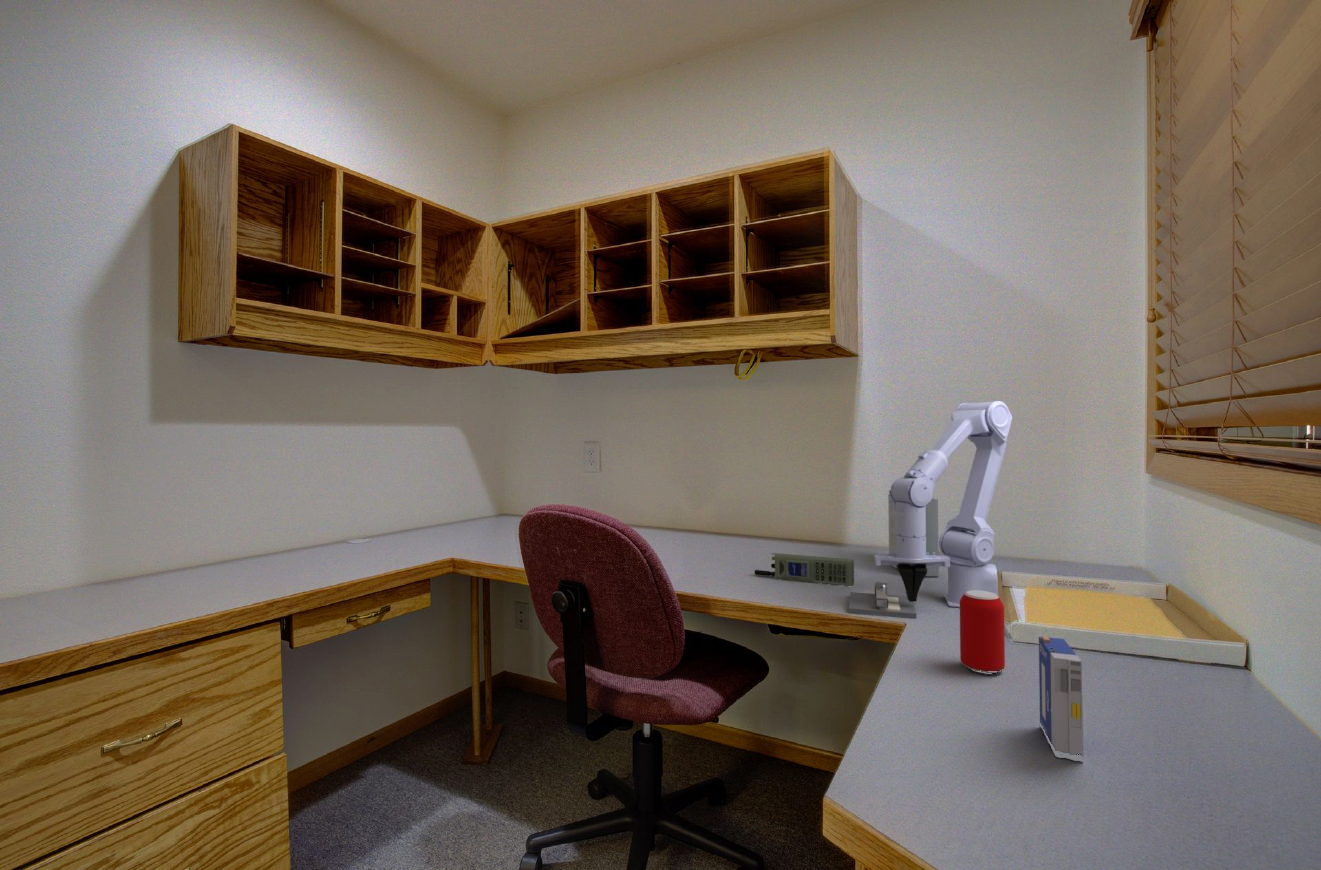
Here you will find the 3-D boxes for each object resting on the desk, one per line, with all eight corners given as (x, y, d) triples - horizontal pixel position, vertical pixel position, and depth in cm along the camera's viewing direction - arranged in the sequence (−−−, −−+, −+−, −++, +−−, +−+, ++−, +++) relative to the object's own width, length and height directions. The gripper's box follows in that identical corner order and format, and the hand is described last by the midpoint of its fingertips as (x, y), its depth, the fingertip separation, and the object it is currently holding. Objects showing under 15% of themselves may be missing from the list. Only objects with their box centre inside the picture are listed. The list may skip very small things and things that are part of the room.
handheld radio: (852, 588, 144) (752, 578, 155) (854, 585, 147) (756, 576, 158) (852, 560, 144) (752, 552, 156) (854, 558, 147) (756, 550, 158)
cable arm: (887, 593, 134) (886, 582, 134) (888, 608, 122) (888, 597, 122) (874, 592, 135) (874, 581, 135) (875, 607, 123) (875, 596, 123)
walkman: (1039, 727, 76) (1038, 633, 76) (1065, 730, 75) (1063, 636, 75) (1055, 759, 69) (1053, 655, 69) (1083, 763, 68) (1082, 658, 68)
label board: (912, 600, 132) (912, 594, 132) (916, 618, 120) (916, 612, 120) (850, 596, 137) (850, 590, 137) (848, 613, 124) (848, 606, 124)
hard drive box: (940, 577, 152) (939, 499, 152) (909, 578, 152) (908, 499, 152) (915, 563, 168) (914, 492, 167) (887, 564, 168) (887, 493, 168)
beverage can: (1004, 680, 91) (1003, 601, 90) (958, 672, 94) (957, 596, 94) (1005, 666, 96) (1004, 591, 96) (962, 659, 99) (961, 586, 99)
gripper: (942, 532, 127) (943, 596, 127) (871, 531, 130) (872, 593, 130) (952, 538, 120) (953, 605, 120) (877, 537, 123) (878, 603, 123)
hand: (911, 600), depth 124 cm, fingers closed
